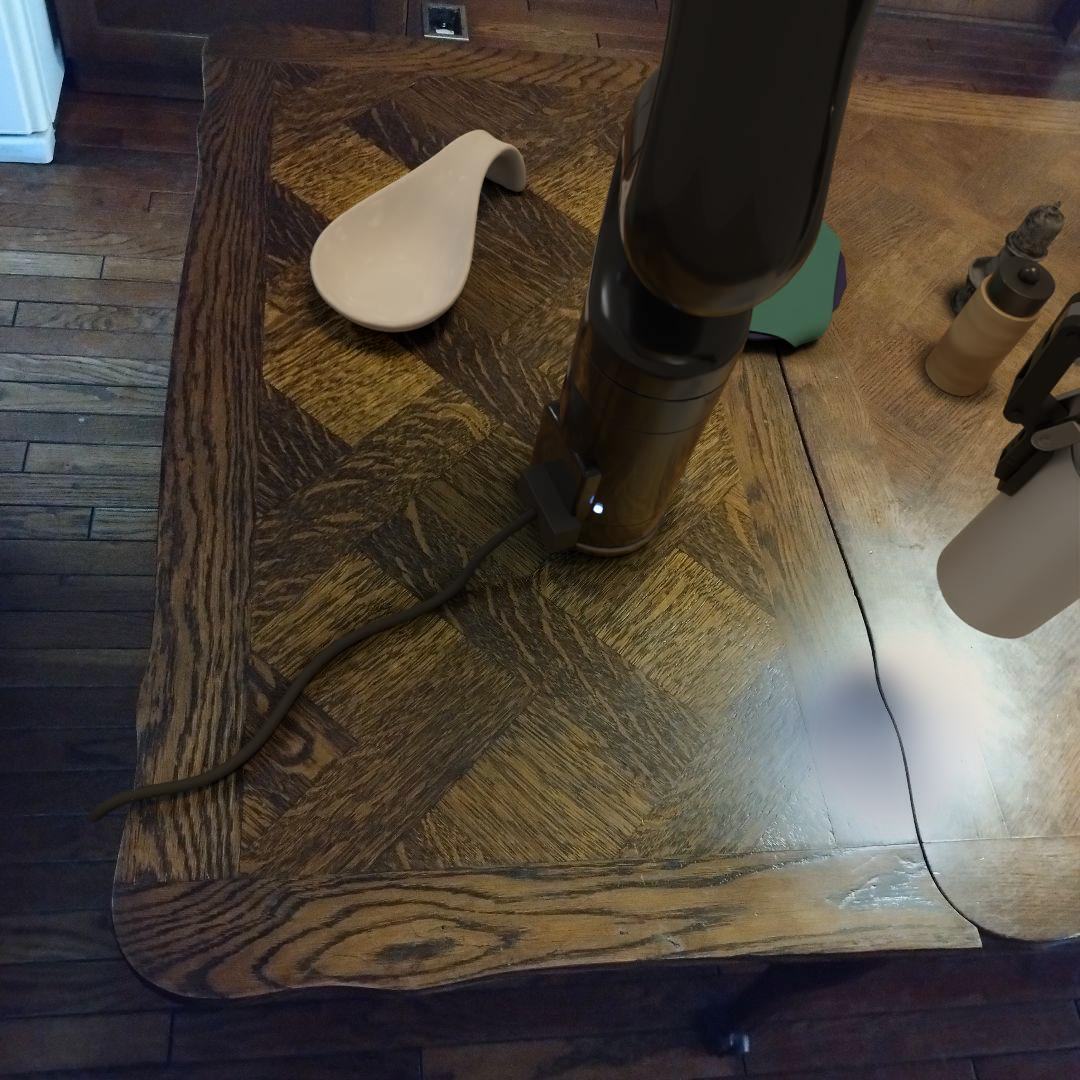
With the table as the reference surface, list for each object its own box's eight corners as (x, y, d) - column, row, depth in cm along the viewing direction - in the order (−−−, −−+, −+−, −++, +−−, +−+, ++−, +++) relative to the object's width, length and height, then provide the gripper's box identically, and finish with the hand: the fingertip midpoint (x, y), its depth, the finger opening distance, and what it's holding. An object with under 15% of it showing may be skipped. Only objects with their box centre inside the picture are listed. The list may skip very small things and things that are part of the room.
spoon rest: (412, 379, 74) (416, 311, 68) (281, 309, 76) (274, 237, 69) (558, 207, 86) (572, 137, 80) (442, 150, 88) (448, 77, 82)
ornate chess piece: (1013, 341, 86) (1099, 235, 76) (948, 324, 86) (1026, 215, 76) (1009, 294, 89) (1092, 187, 79) (947, 278, 89) (1022, 168, 79)
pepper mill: (947, 402, 81) (1032, 297, 71) (913, 357, 83) (990, 249, 73) (993, 388, 83) (1082, 283, 72) (958, 344, 85) (1039, 236, 75)
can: (975, 657, 53) (1124, 544, 42) (910, 556, 55) (1035, 428, 45) (1065, 623, 55) (1227, 508, 45) (998, 527, 57) (1136, 398, 47)
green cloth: (593, 312, 80) (598, 291, 78) (661, 100, 96) (667, 79, 94) (826, 383, 80) (838, 364, 78) (857, 159, 96) (867, 139, 94)
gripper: (1155, 232, 33) (917, 498, 48) (1580, 433, 32) (1201, 648, 46) (1187, 122, 37) (958, 399, 51) (1567, 296, 35) (1221, 533, 50)
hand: (1073, 515), depth 48 cm, fingers closed on can, 6 cm apart
